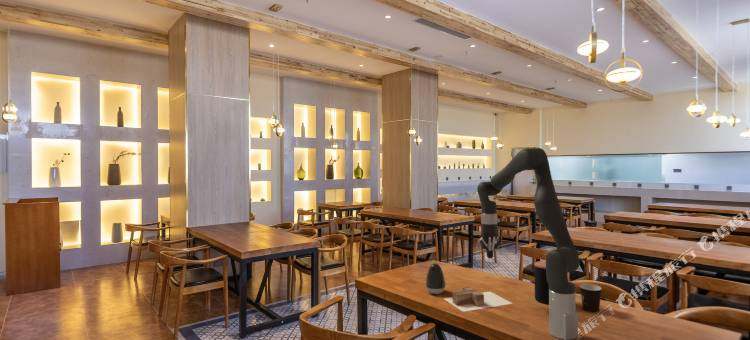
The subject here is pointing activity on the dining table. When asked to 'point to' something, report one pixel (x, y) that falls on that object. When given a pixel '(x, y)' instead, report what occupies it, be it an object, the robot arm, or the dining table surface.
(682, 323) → the dining table surface
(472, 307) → the mat
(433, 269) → the black egg-shaped piece
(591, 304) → the coffee mug
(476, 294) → the t block
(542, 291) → the coffee jar
